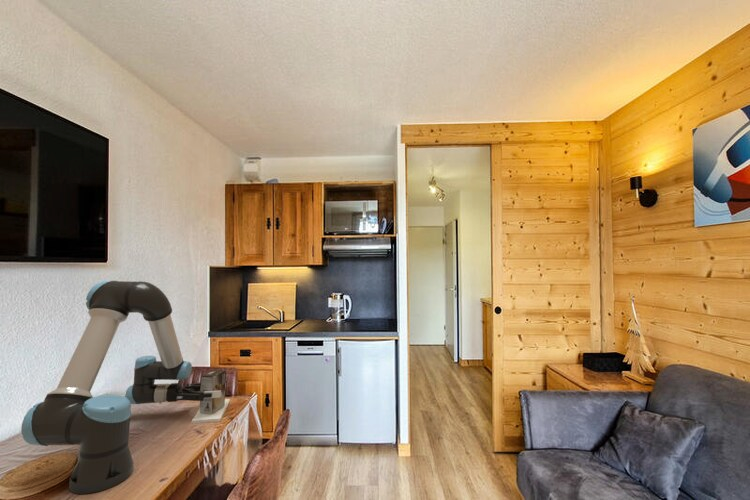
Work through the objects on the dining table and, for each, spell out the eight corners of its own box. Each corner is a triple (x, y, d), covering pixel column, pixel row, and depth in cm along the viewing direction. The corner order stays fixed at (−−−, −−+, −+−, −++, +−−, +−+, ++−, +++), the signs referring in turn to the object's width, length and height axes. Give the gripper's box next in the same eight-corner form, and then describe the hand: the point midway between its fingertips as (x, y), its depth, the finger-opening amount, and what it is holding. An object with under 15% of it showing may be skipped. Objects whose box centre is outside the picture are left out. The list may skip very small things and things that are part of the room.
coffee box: (212, 404, 154) (214, 369, 155) (224, 405, 153) (226, 370, 154) (198, 412, 145) (200, 375, 146) (211, 414, 144) (213, 376, 145)
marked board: (220, 421, 140) (220, 418, 140) (191, 423, 138) (191, 420, 138) (229, 401, 162) (229, 398, 162) (205, 403, 159) (205, 400, 159)
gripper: (176, 392, 156) (227, 389, 161) (157, 412, 134) (217, 408, 139) (177, 375, 156) (228, 373, 161) (158, 393, 134) (218, 389, 139)
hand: (223, 389), depth 150 cm, fingers closed on coffee box, 10 cm apart
